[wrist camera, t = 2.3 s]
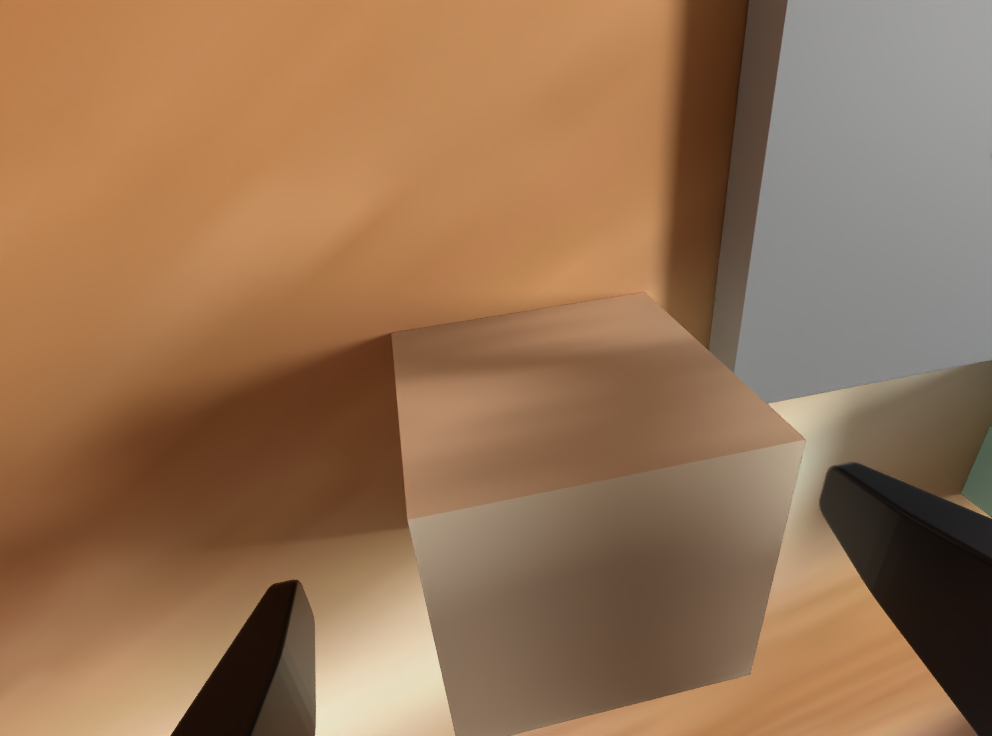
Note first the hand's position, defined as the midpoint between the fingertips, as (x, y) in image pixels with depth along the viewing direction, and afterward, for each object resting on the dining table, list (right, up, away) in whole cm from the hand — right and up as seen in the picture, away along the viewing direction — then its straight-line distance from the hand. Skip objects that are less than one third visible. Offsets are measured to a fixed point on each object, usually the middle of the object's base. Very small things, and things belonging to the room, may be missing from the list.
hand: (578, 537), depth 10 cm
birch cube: (-1, +2, +3) cm, 4 cm away
